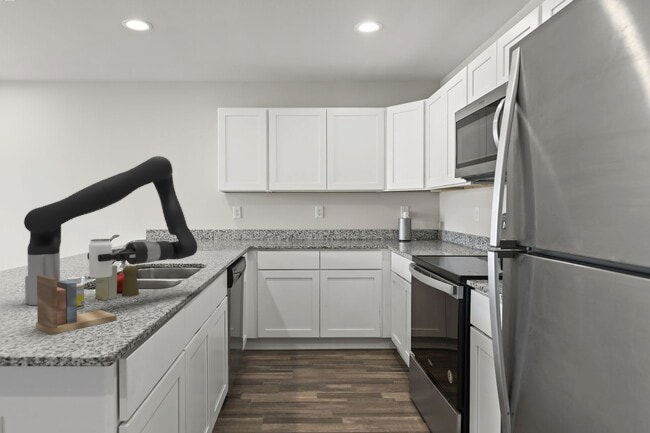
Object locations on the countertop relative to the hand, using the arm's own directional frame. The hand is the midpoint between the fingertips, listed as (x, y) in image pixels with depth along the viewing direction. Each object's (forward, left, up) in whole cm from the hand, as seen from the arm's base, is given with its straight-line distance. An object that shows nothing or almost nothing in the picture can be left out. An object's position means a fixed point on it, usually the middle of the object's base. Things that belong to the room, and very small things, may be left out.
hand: (93, 257), depth 128 cm
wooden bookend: (+4, -12, -18) cm, 22 cm away
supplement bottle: (-10, +4, -18) cm, 21 cm away
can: (+1, +2, -7) cm, 7 cm away
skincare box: (-9, +19, -18) cm, 28 cm away
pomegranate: (-13, +30, -18) cm, 37 cm away
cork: (-4, +26, -18) cm, 32 cm away
